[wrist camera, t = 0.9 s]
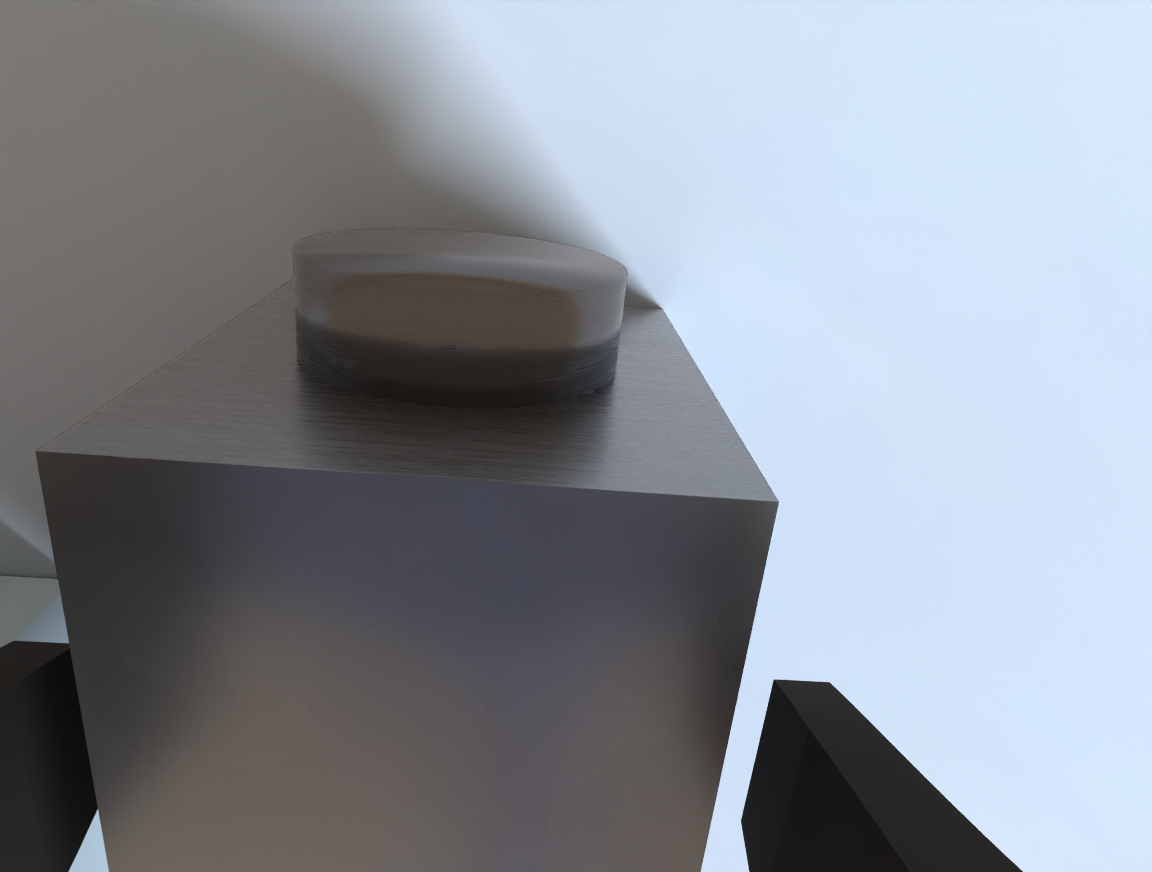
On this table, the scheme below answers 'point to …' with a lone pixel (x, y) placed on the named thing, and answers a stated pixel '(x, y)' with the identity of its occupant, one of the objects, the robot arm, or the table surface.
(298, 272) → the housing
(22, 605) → the square tray
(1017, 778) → the table surface
